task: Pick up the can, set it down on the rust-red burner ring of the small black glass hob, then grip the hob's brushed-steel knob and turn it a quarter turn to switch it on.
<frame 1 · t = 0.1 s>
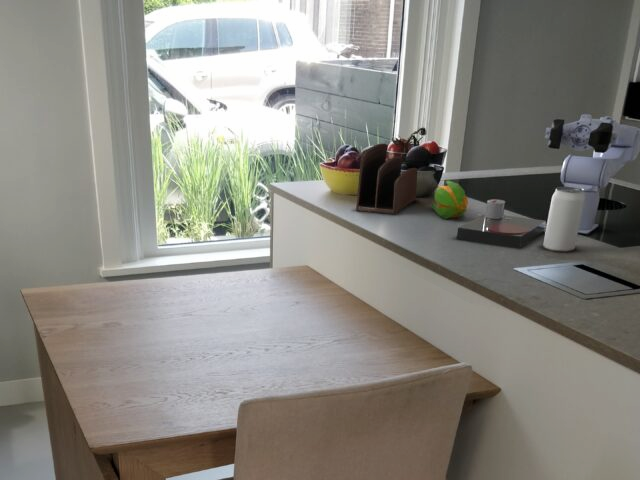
hand: (571, 137, 167), 22 cm above the table, tool horizontal, fingers open, 7 cm apart
burner ring: (505, 240, 182), resting on hob
hob: (500, 235, 186), on the table
letter holder: (386, 206, 212), on the table
can: (558, 249, 177), on the table
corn: (445, 214, 205), on the table
knob: (495, 208, 189), point 4 cm above the table, hinge at 0.0°
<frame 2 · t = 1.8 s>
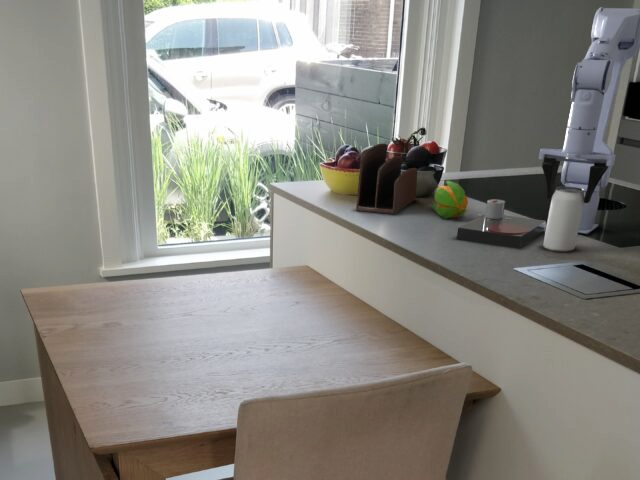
hand: (567, 200, 171), 10 cm above the table, tool pointing down, fingers open, 7 cm apart
nothing on the table moved.
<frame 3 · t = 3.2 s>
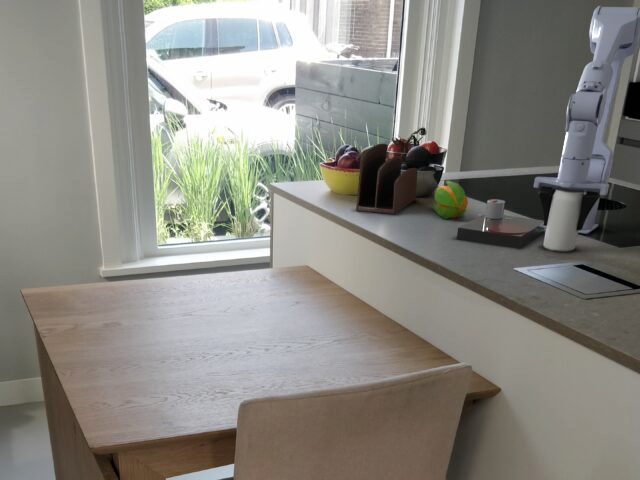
hand: (562, 227, 174), 4 cm above the table, tool pointing down, fingers closed on can, 6 cm apart
can: (558, 249, 177), on the table, touching gripper
everything else where it was.
when the fingers open (7 cm above the table, at t = 7.6 s): can stays where it is, resting on burner ring.
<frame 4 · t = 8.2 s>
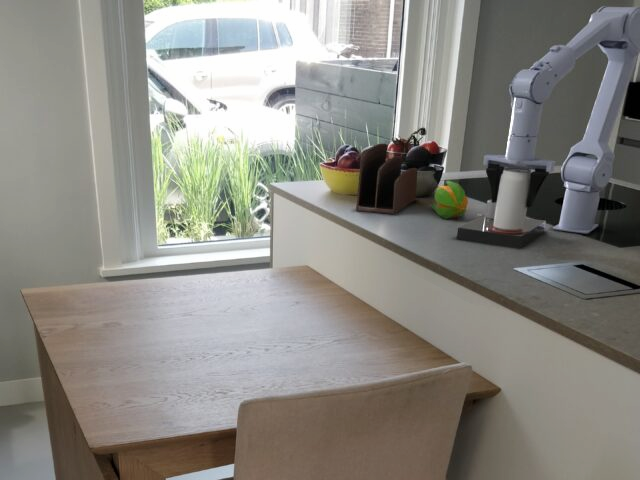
hand: (511, 204, 178), 8 cm above the table, tool pointing down, fingers open, 7 cm apart
can: (507, 229, 181), point 3 cm above the table, touching burner ring
everything else where it was.
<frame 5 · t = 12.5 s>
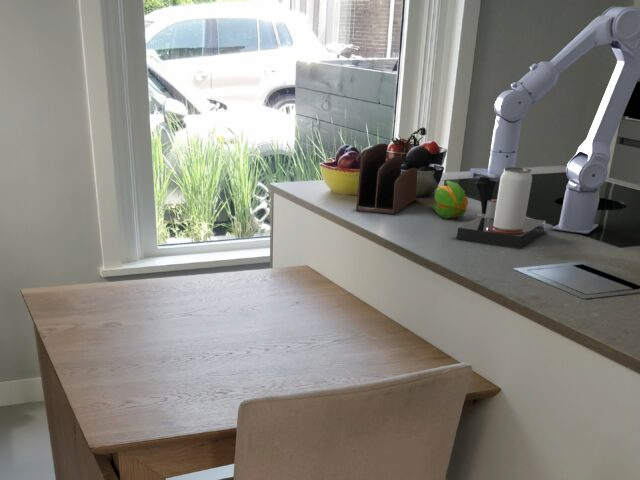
hand: (494, 214, 190), 3 cm above the table, tool pointing down, fingers closed on knob, 4 cm apart
knob: (495, 208, 189), point 4 cm above the table, hinge at 0.0°, touching gripper
everything else where it was.
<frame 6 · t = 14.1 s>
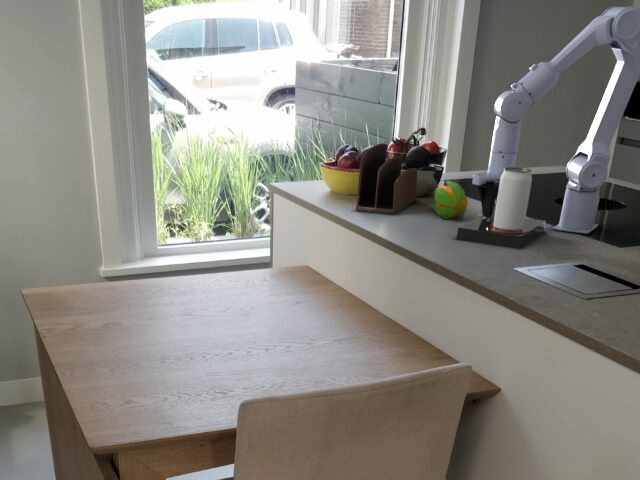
hand: (493, 215, 190), 3 cm above the table, tool pointing down, fingers closed on knob, 4 cm apart
knob: (495, 208, 189), point 4 cm above the table, hinge at 73.1°, touching gripper
everything else where it was.
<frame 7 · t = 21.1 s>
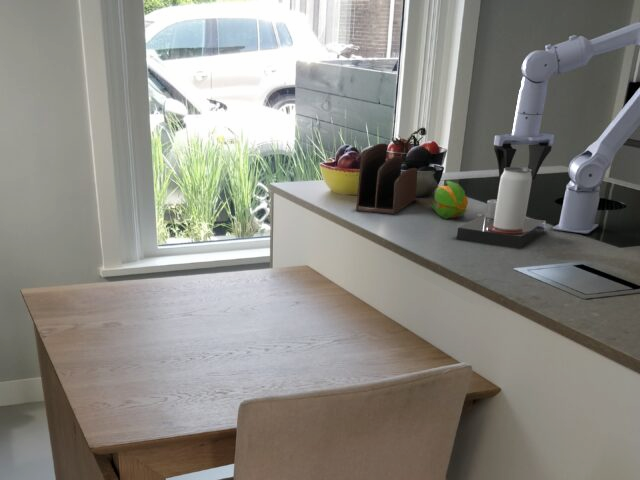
hand: (516, 179, 188), 10 cm above the table, tool pointing down, fingers open, 7 cm apart
knob: (495, 208, 189), point 4 cm above the table, hinge at 72.9°
everything else where it was.
at the end: can 0.0 cm from the target spot on the hob, point 2.5 cm above the hob's base; can tilted 0°; knob at +73° (first picture: +0°) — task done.
